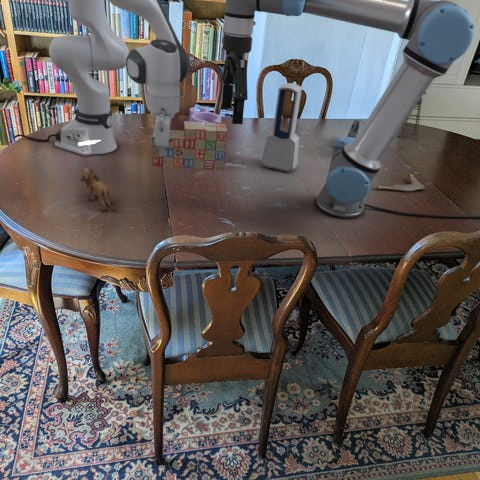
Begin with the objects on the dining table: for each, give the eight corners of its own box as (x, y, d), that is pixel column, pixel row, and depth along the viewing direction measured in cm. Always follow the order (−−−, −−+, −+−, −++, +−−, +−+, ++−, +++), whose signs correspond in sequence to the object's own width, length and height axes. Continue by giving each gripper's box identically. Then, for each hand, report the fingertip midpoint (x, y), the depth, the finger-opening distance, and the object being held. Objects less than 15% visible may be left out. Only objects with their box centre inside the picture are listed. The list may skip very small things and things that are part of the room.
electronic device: (296, 166, 177) (310, 86, 161) (292, 174, 171) (306, 91, 154) (265, 160, 180) (276, 80, 163) (259, 167, 174) (270, 85, 157)
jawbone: (429, 189, 172) (431, 184, 171) (394, 201, 161) (396, 196, 160) (410, 177, 177) (412, 172, 176) (375, 189, 167) (376, 184, 165)
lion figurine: (77, 195, 143) (74, 168, 138) (92, 190, 146) (90, 163, 142) (107, 213, 136) (105, 185, 131) (122, 207, 139) (120, 180, 134)
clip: (182, 123, 206) (183, 107, 202) (209, 122, 210) (210, 106, 207) (197, 140, 191) (197, 123, 187) (225, 138, 195) (226, 122, 191)
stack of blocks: (151, 166, 137) (151, 126, 130) (153, 157, 142) (152, 118, 135) (224, 170, 140) (227, 130, 133) (223, 161, 145) (226, 123, 138)
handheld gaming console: (349, 160, 187) (354, 136, 182) (342, 158, 188) (347, 134, 183) (355, 142, 206) (361, 119, 201) (349, 140, 207) (354, 118, 201)
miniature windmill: (417, 139, 216) (437, 73, 200) (398, 137, 217) (417, 70, 201) (414, 133, 223) (434, 68, 207) (397, 130, 224) (415, 66, 208)
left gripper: (173, 117, 122) (172, 165, 130) (175, 93, 139) (174, 137, 146) (149, 115, 121) (149, 164, 129) (154, 92, 138) (154, 136, 146)
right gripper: (265, 45, 111) (256, 131, 123) (240, 26, 131) (234, 102, 143) (235, 43, 109) (228, 131, 121) (214, 25, 129) (210, 101, 141)
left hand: (163, 149), depth 138 cm, fingers closed on stack of blocks, 6 cm apart
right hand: (231, 115), depth 132 cm, fingers open, 13 cm apart
